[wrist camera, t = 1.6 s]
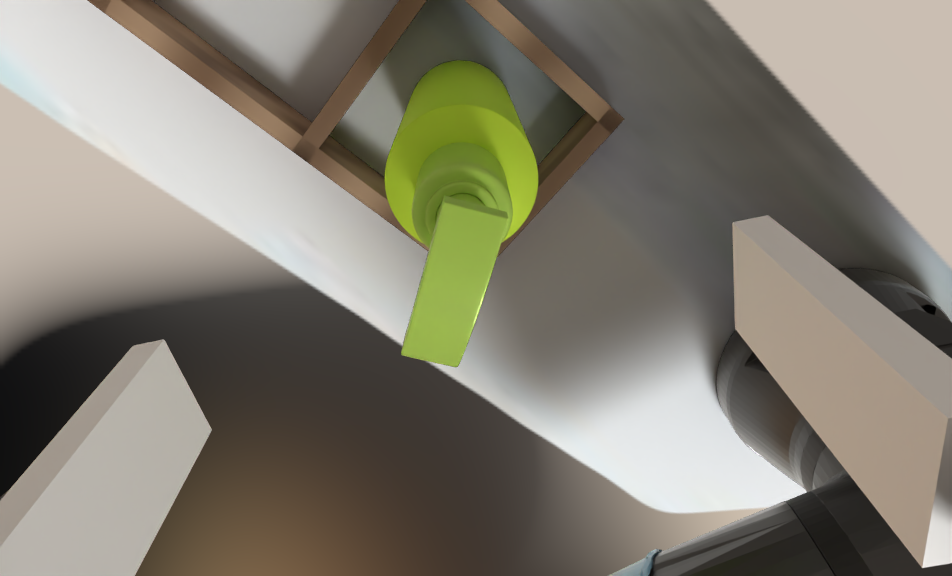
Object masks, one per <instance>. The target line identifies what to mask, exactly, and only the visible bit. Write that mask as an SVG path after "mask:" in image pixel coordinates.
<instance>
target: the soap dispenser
mask: <svg viewBox="0 0 952 576" xmlns="http://www.w3.org/2000/svg"><path fill="white" fill-rule="evenodd" d="M385 190H386V195H387V199H388V202H389V205H390V207H391V210H392V212H393V214H394V215H395V217H396V219H397V220H398V222H399V223H400V224H401V225H402V227H403V228H404V229H405V230H406V231H407V232H408V233H409V234H410V235H411V236H413V237H414V238H415V239H417V240H418V241H420V242H421V243H423V244H425V245H426V246H427V247H428V248H429V251H428V255H427V259H426V262H425V266H424V270H423V274H422V277H421V281H420V284H419V288H418V292H417V295H416V299H415V303H414V306H413V310H412V314H411V317H410V321H409V324H408V327H407V331H406V334H405V338H404V342H403V347H402V352H401V354H402V355H404V356H408V357H412V358H416V359H421V360H425V361H430V362H434V363H439V364H443V365H448V366H452V367H458V365H459V363H460V361H461V359H462V356H463V354H464V351H465V349H466V346H467V344H468V341H469V339H470V336H471V333H472V331H473V328H474V325H475V322H476V320H477V317H478V314H479V311H480V308H481V305H482V302H483V299H484V296H485V293H486V290H487V287H488V284H489V280H490V277H491V274H492V271H493V268H494V265H495V261H496V258H497V255H498V252H499V249H500V245H501V243H502V242H504V241H505V240H507V239H508V238H509V237H511V236H512V235H513V234H514V233H515V232H516V231H517V230H518V229H519V228H520V227H521V226H522V224H523V223H524V222H525V220H526V219H527V217H528V216H529V214H530V212H531V210H532V208H533V205H534V203H535V199H536V196H537V190H538V168H537V163H536V159H535V155H534V153H533V150H532V148H531V146H530V143H529V141H528V138H527V136H526V134H525V131H524V129H523V127H522V124H521V122H520V120H519V117H518V115H517V113H516V110H515V108H514V106H513V103H512V101H511V99H510V96H509V94H508V92H507V90H506V88H505V86H504V84H503V83H502V81H501V80H500V79H499V78H498V77H497V76H496V75H495V74H494V73H493V72H492V71H491V70H489V69H488V68H486V67H484V66H482V65H480V64H478V63H475V62H471V61H463V60H457V61H450V62H446V63H443V64H440V65H438V66H436V67H434V68H433V69H431V70H430V71H428V72H427V73H426V74H425V75H424V76H423V77H422V78H421V79H420V81H419V82H418V83H417V85H416V87H415V89H414V91H413V93H412V95H411V98H410V101H409V103H408V106H407V108H406V111H405V114H404V116H403V119H402V121H401V124H400V126H399V129H398V132H397V134H396V137H395V139H394V142H393V144H392V147H391V150H390V152H389V155H388V158H387V162H386V167H385Z"/></svg>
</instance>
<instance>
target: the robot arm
mask: <svg viewBox="0 0 952 576" xmlns="http://www.w3.org/2000/svg"><path fill="white" fill-rule="evenodd" d="M732 229H733V268H734V308H735V329H736V330H735V331H734V333H733V334H732V336H731V338H730V339H729V341H728V343H727V345H726V347H725V349H724V351H723V353H722V356H721V359H720V363H719V366H718V372H717V394H718V399H719V402H720V405H721V408H722V410H723V412H724V414H725V416H726V417H727V419H728V420H729V422H730V424H731V425H732V427H733V429H734V430H735V432H736V433H737V435H738V436H739V437H740V439H741V440H742V441H743V442H744V443H745V444H746V445H747V446H748V447H749V448H750V449H751V450H752V451H753V452H755V453H756V454H757V455H759V456H761V457H763V458H764V459H765V460H767V461H768V462H769V463H771V464H772V465H773V466H774V467H776V468H777V469H778V470H780V471H781V472H782V473H784V474H785V475H786V476H788V477H789V478H790V479H792V480H793V481H794V482H796V483H797V484H799V485H800V486H801V487H803V488H804V489H805V490H806V491H807V493H805V494H802V495H800V496H797V497H795V498H792V499H790V500H788V501H784V502H781V503H779V504H776V505H774V506H772V507H769V508H767V509H764V510H762V511H760V512H757V513H755V514H752V515H750V516H747V517H745V518H743V519H740V520H738V521H735V522H733V523H730V524H728V525H726V526H723V527H721V528H718V529H716V530H713V531H711V532H709V533H706V534H704V535H701V536H699V537H697V538H694V539H692V540H690V541H687V542H685V543H682V544H680V545H677V546H675V547H672V548H670V549H667V550H665V551H662V550H658V549H655V550H653V551H651V552H649V553H648V554H647V556H646V558H644V559H642V560H640V561H638V562H636V563H634V564H632V565H630V566H628V567H626V568H623V569H621V570H619V571H617V572H615V573H613V574H611V575H609V576H952V323H951V321H950V319H949V318H948V316H947V315H946V314H945V312H944V311H943V310H942V309H941V308H940V307H939V306H938V305H937V304H936V303H935V302H934V301H933V300H932V299H930V298H929V297H928V296H926V295H925V294H923V293H922V292H921V291H919V290H918V289H916V288H915V287H913V286H912V285H910V284H909V283H907V282H906V281H904V280H902V279H900V278H898V277H896V276H894V275H891V274H888V273H885V272H881V271H876V270H870V269H841V270H838V269H836V268H835V267H834V266H832V265H831V264H830V263H829V262H827V261H826V260H825V259H823V258H822V257H821V256H820V255H818V254H817V253H816V252H815V251H813V250H812V249H811V248H809V247H808V246H807V245H806V244H804V243H803V242H802V241H800V240H799V239H798V238H797V237H795V236H794V235H793V234H792V233H790V232H789V231H788V230H786V229H785V228H784V227H783V226H781V225H780V224H779V223H777V222H776V221H775V220H774V219H772V218H771V217H770V216H768V215H766V216H761V217H756V218H751V219H746V220H741V221H737V222H732ZM210 432H211V428H210V426H209V424H208V422H207V420H206V418H205V416H204V414H203V413H202V411H201V409H200V407H199V405H198V403H197V401H196V399H195V397H194V396H193V394H192V392H191V390H190V388H189V386H188V384H187V382H186V380H185V378H184V377H183V375H182V373H181V371H180V369H179V367H178V365H177V363H176V361H175V359H174V357H173V356H172V354H171V352H170V350H169V348H168V346H167V344H166V342H165V340H159V341H154V342H149V343H145V344H140V345H135V346H133V347H132V348H131V349H130V350H129V351H128V352H127V354H126V355H125V356H124V357H123V358H122V359H121V361H120V362H119V363H118V364H117V365H116V366H115V368H114V369H113V370H112V371H111V372H110V373H109V375H108V376H107V377H106V378H105V379H104V380H103V382H102V383H101V384H100V385H99V386H98V387H97V388H96V390H95V391H94V392H93V393H92V394H91V395H90V397H89V398H88V399H87V400H86V401H85V402H84V404H83V405H82V406H81V407H80V408H79V409H78V411H77V412H76V413H75V414H74V415H73V416H72V418H71V419H70V420H69V421H68V422H67V424H66V425H65V426H64V427H63V428H62V429H61V431H60V432H59V433H58V434H57V435H56V436H55V437H54V439H53V440H52V441H51V442H50V443H49V445H48V446H47V447H46V448H45V449H44V450H43V452H42V453H41V454H40V455H39V456H38V457H37V458H36V460H35V461H34V462H33V463H32V464H31V465H30V466H29V468H28V469H27V470H26V471H25V472H24V473H23V475H22V476H21V477H20V478H19V479H18V480H17V482H16V483H15V484H14V485H13V486H12V487H11V489H10V490H8V491H7V492H6V493H5V494H4V495H2V496H1V497H0V576H135V574H136V572H137V570H138V568H139V566H140V564H141V563H142V561H143V559H144V557H145V555H146V553H147V551H148V549H149V547H150V546H151V544H152V542H153V540H154V538H155V536H156V534H157V532H158V531H159V528H160V527H161V525H162V523H163V521H164V519H165V517H166V515H167V514H168V512H169V510H170V508H171V506H172V504H173V502H174V500H175V498H176V497H177V495H178V493H179V491H180V489H181V487H182V485H183V483H184V481H185V480H186V478H187V476H188V474H189V472H190V470H191V468H192V466H193V464H194V463H195V461H196V459H197V457H198V455H199V453H200V451H201V449H202V448H203V446H204V444H205V442H206V440H207V438H208V436H209V434H210Z"/></svg>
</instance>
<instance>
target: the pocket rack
mask: <svg viewBox="0 0 952 576" xmlns="http://www.w3.org/2000/svg"><path fill="white" fill-rule="evenodd" d="M88 1H89V2H90V3H92V4H93V5H94V6H96V7H97V8H98V9H100V10H101V11H102V12H104V13H105V14H107V15H108V16H109V17H111V18H112V19H113V20H115V21H116V22H117V23H119V24H120V25H122V26H123V27H124V28H126V29H127V30H128V31H130V32H131V33H132V34H134V35H135V36H136V37H138V38H139V39H141V40H142V41H143V42H145V43H146V44H147V45H149V46H150V47H151V48H153V49H154V50H156V51H157V52H158V53H160V54H161V55H162V56H164V57H165V58H166V59H168V60H169V61H170V62H172V63H173V64H175V65H176V66H177V67H179V68H180V69H181V70H183V71H184V72H185V73H187V74H188V75H189V76H191V77H192V78H194V79H195V80H196V81H198V82H199V83H200V84H202V85H203V86H204V87H206V88H207V89H209V90H210V91H211V92H213V93H214V94H215V95H217V96H218V97H219V98H221V99H222V100H223V101H225V102H226V103H228V104H229V105H230V106H232V107H233V108H234V109H236V110H237V111H238V112H240V113H241V114H243V115H244V116H245V117H247V118H248V119H249V120H251V121H252V122H253V123H255V124H256V125H257V126H259V127H260V128H262V129H263V130H264V131H266V132H267V133H268V134H270V135H271V136H272V137H274V138H275V139H276V140H278V141H279V142H281V143H282V144H283V145H285V146H286V147H287V148H289V149H290V150H291V151H293V152H294V153H296V154H297V155H298V156H300V157H301V158H302V159H304V160H305V161H306V162H308V163H309V164H310V165H312V166H313V167H315V168H316V169H317V170H319V171H320V172H321V173H323V174H324V175H325V176H327V177H328V178H330V179H331V180H332V181H334V182H335V183H336V184H338V185H339V186H340V187H342V188H343V189H344V190H346V191H347V192H349V193H350V194H351V195H353V196H354V197H355V198H357V199H358V200H359V201H361V202H362V203H363V204H365V205H366V206H368V207H369V208H370V209H372V210H373V211H374V212H376V213H377V214H378V215H380V216H381V217H383V218H384V219H385V220H387V221H388V222H389V223H391V224H392V225H393V226H395V227H396V228H397V229H399V230H400V231H402V232H403V233H404V234H406V235H407V236H408V237H410V238H411V239H412V240H414V241H415V242H417V243H418V244H419V245H421V246H422V247H423V248H425V249H426V250H427V251H429V248H428V247H427V246H426V245H425V244H423V243H421V242H420V241H418V240H417V239H415V238H414V237H413V236H411V235H410V234H409V233H408V232H407V231H406V230H405V229H404V228H403V227H402V225H401V224H400V223H399V222H398V220H397V219H396V217H395V215H394V214H393V212H392V210H391V207H390V205H389V202H388V199H387V195H386V190H385V178H384V177H383V176H382V175H380V174H379V173H378V172H376V171H375V170H374V169H372V168H371V167H370V166H368V165H367V164H366V163H365V162H363V161H362V160H361V159H359V158H358V157H357V156H355V155H354V154H353V153H351V152H350V151H349V150H347V149H346V148H345V147H343V146H342V145H341V144H340V143H338V142H337V141H336V140H334V139H333V138H332V137H330V136H329V135H330V134H331V132H332V131H333V129H334V128H335V127H336V125H337V124H338V123H339V121H340V120H341V118H342V117H343V116H344V114H345V113H346V112H347V110H348V109H349V107H350V106H351V105H352V103H353V102H354V101H355V99H356V98H357V96H358V95H359V94H360V92H361V91H362V89H363V88H364V87H365V85H366V84H367V83H368V81H369V80H370V78H371V77H372V76H373V74H374V73H375V72H376V70H377V69H378V67H379V66H380V65H381V63H382V62H383V61H384V59H385V58H386V56H387V55H388V54H389V52H390V51H391V50H392V48H393V47H394V45H395V44H396V43H397V41H398V40H399V39H400V37H401V36H402V34H403V33H404V32H405V30H406V29H407V28H408V26H409V25H410V23H411V22H412V21H413V19H414V18H415V17H416V15H417V14H418V12H419V11H420V10H421V8H422V7H423V6H424V4H425V3H426V1H427V0H399V1H398V3H397V4H396V5H395V7H394V8H393V10H392V11H391V12H390V14H389V15H388V17H387V18H386V19H385V21H384V22H383V24H382V25H381V27H380V28H379V29H378V31H377V32H376V34H375V35H374V36H373V38H372V39H371V41H370V42H369V43H368V45H367V46H366V48H365V49H364V51H363V52H362V53H361V55H360V56H359V58H358V59H357V60H356V62H355V63H354V65H353V66H352V67H351V69H350V70H349V72H348V73H347V75H346V76H345V77H344V79H343V80H342V82H341V83H340V84H339V86H338V87H337V89H336V90H335V91H334V93H333V94H332V96H331V97H330V98H329V100H328V101H327V103H326V104H325V106H324V107H323V108H322V110H321V111H320V113H319V114H318V115H317V117H316V118H315V120H314V121H313V122H311V121H309V120H308V119H307V118H305V117H304V116H303V115H301V114H300V113H299V112H297V111H296V110H295V109H294V108H292V107H291V106H290V105H288V104H287V103H286V102H284V101H283V100H282V99H280V98H279V97H278V96H276V95H275V94H274V93H272V92H271V91H270V90H269V89H267V88H266V87H265V86H263V85H262V84H261V83H259V82H258V81H257V80H255V79H254V78H253V77H251V76H250V75H249V74H248V73H246V72H245V71H244V70H242V69H241V68H240V67H238V66H237V65H236V64H234V63H233V62H232V61H230V60H229V59H228V58H226V57H225V56H224V55H223V54H221V53H220V52H219V51H217V50H216V49H215V48H213V47H212V46H211V45H209V44H208V43H207V42H205V41H204V40H203V39H202V38H200V37H199V36H198V35H196V34H195V33H194V32H192V31H191V30H190V29H188V28H187V27H186V26H184V25H183V24H182V23H180V22H179V21H178V20H177V19H175V18H174V17H173V16H171V15H170V14H169V13H167V12H166V11H165V10H163V9H162V8H161V7H159V6H158V5H157V4H156V3H154V2H153V1H152V0H88ZM465 1H466V2H467V3H468V4H469V5H470V6H472V7H473V8H474V9H475V10H476V11H477V12H478V13H479V14H480V15H481V16H482V17H484V18H485V19H486V20H487V21H488V22H489V23H490V24H491V25H492V26H493V27H495V28H496V29H497V30H498V31H499V32H500V33H501V34H502V35H503V36H504V37H505V38H507V39H508V40H509V41H510V42H511V43H512V44H513V45H514V46H515V47H516V48H518V49H519V50H520V51H521V52H522V53H523V54H524V55H525V56H526V57H527V58H528V59H530V60H531V61H532V62H533V63H534V64H535V65H536V66H537V67H538V68H539V69H541V70H542V71H543V72H544V73H545V74H546V75H547V76H548V77H549V78H550V79H551V80H553V81H554V82H555V83H556V84H557V85H558V86H559V87H560V88H561V89H562V90H563V91H565V92H566V93H567V94H568V95H569V96H570V97H571V98H572V99H573V100H574V101H576V102H577V103H578V104H579V105H580V106H581V107H582V108H583V109H584V110H585V111H586V112H585V114H584V115H583V116H582V117H581V118H580V119H579V120H578V121H577V123H576V124H575V125H574V126H573V127H572V128H571V129H570V130H569V132H568V133H567V134H566V135H565V136H564V137H563V138H562V139H561V141H560V142H559V143H558V144H557V145H556V146H555V147H554V148H553V150H552V151H551V152H550V153H549V154H548V155H547V156H546V157H545V159H544V160H543V161H542V162H541V163H540V164H539V165H538V166H537V168H538V190H537V196H536V199H535V203H534V205H533V208H532V210H531V212H530V214H529V216H528V217H527V219H526V220H525V222H524V223H523V224H522V226H521V227H520V228H519V229H518V230H517V231H516V232H515V233H514V234H513V235H512V236H511V237H509V238H508V239H507V240H505V241H504V242H502V243H501V245H500V249H499V252H498V255H497V257H498V256H499V255H500V254H501V253H502V252H503V251H504V250H505V248H506V247H507V246H508V245H509V244H510V243H511V242H512V241H513V240H514V239H515V238H516V237H517V235H518V234H519V233H520V232H521V231H522V230H523V229H524V228H525V227H526V226H527V225H528V223H529V222H530V221H531V220H532V219H533V218H534V217H535V216H536V215H537V214H538V213H539V212H540V210H541V209H542V208H543V207H544V206H545V205H546V204H547V203H548V202H549V201H550V200H551V198H552V197H553V196H554V195H555V194H556V193H557V192H558V191H559V190H560V189H561V188H562V187H563V185H564V184H565V183H566V182H567V181H568V180H569V179H570V178H571V177H572V176H573V175H574V173H575V172H576V171H577V170H578V169H579V168H580V167H581V166H582V165H583V164H584V163H585V162H586V160H587V159H588V158H589V157H590V156H591V155H592V154H593V153H594V152H595V151H596V150H597V148H598V147H599V146H600V145H601V144H602V143H603V142H604V141H605V140H606V139H607V138H608V137H609V135H610V134H611V133H612V132H613V131H614V130H615V129H616V128H617V127H618V126H619V125H620V123H621V122H622V121H623V120H624V118H623V117H622V116H621V115H620V114H618V113H617V112H616V111H615V110H614V109H613V108H612V107H611V106H610V105H609V104H608V103H607V102H606V101H604V100H603V99H602V98H601V97H600V96H599V95H598V94H597V93H596V92H595V91H594V90H593V89H592V88H591V87H589V86H588V85H587V84H586V83H585V82H584V81H583V80H582V79H581V78H580V77H579V76H578V75H577V74H576V73H574V72H573V71H572V70H571V69H570V68H569V67H568V66H567V65H566V64H565V63H564V62H563V61H562V60H561V59H559V58H558V57H557V56H556V55H555V54H554V53H553V52H552V51H551V50H550V49H549V48H548V47H547V46H546V45H544V44H543V43H542V42H541V41H540V40H539V39H538V38H537V37H536V36H535V35H534V34H533V33H532V32H531V31H529V30H528V29H527V28H526V27H525V26H524V25H523V24H522V23H521V22H520V21H519V20H518V19H517V18H516V17H514V16H513V15H512V14H511V13H510V12H509V11H508V10H507V9H506V8H505V7H504V6H503V5H502V4H500V3H499V2H498V1H497V0H465Z"/></svg>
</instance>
